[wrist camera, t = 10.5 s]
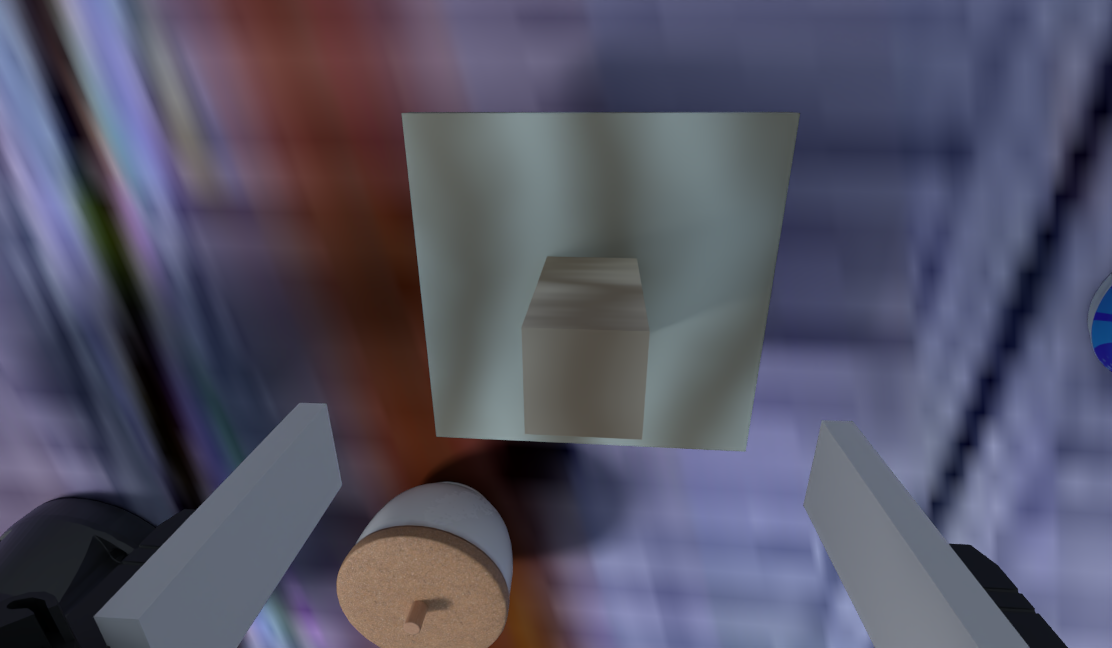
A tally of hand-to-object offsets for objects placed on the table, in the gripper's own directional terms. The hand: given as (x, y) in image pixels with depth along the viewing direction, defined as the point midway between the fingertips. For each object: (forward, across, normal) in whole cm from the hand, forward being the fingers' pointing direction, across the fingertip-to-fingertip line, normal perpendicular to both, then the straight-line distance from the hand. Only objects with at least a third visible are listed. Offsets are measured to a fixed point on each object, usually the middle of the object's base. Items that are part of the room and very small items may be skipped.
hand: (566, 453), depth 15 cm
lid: (+13, +1, 0) cm, 13 cm away
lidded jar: (+19, -9, -20) cm, 29 cm away
